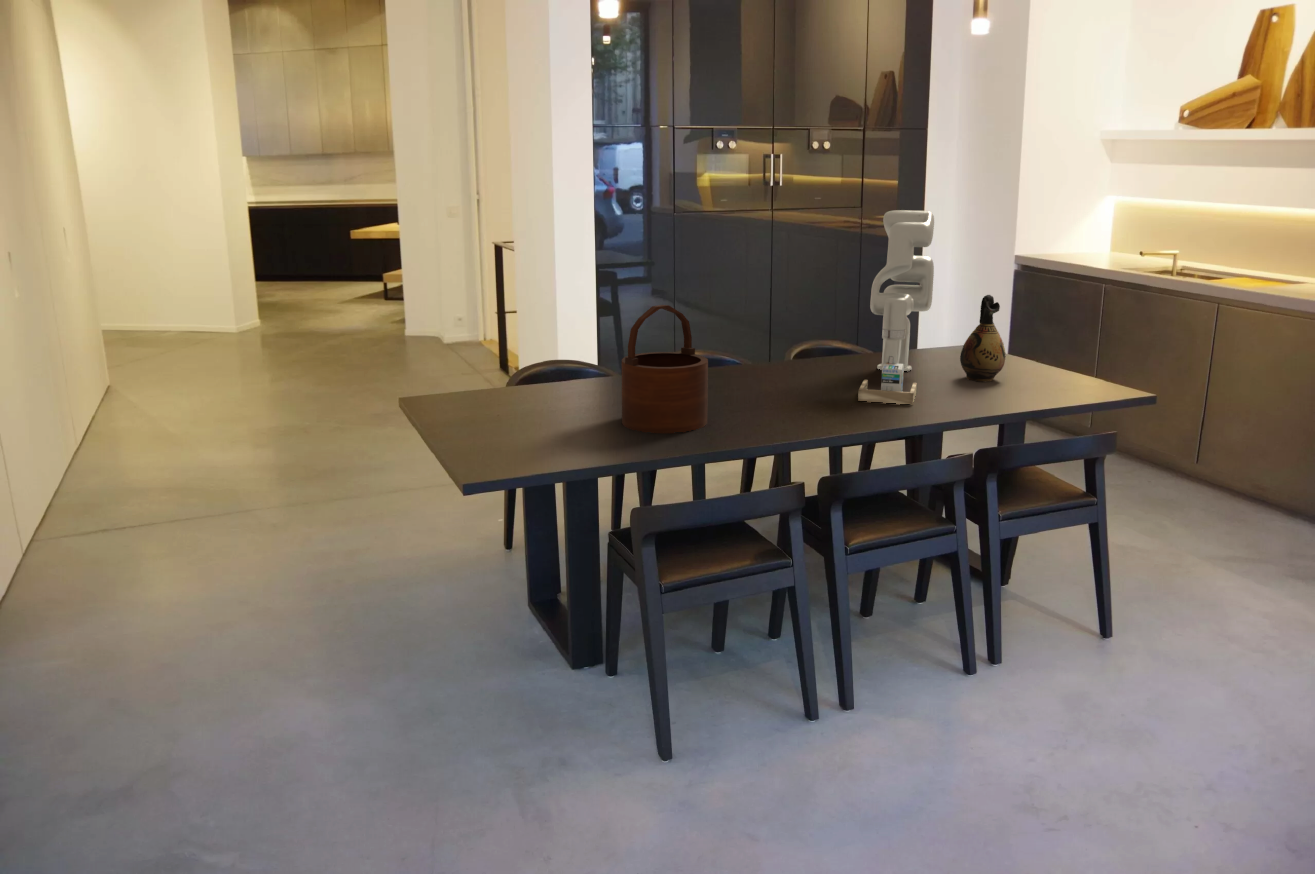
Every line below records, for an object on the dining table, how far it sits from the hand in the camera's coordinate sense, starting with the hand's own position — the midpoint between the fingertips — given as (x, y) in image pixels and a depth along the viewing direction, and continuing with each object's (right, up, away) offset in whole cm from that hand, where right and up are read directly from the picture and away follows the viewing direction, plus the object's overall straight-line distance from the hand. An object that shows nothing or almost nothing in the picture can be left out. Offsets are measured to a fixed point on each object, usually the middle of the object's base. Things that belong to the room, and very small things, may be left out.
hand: (890, 387), depth 348 cm
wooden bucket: (-77, -13, -39) cm, 87 cm away
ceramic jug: (+37, +4, +21) cm, 43 cm away
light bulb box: (-2, -4, -8) cm, 9 cm away
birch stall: (-3, -4, -8) cm, 10 cm away
